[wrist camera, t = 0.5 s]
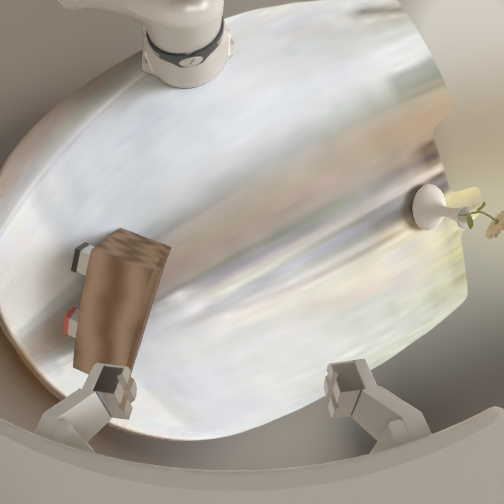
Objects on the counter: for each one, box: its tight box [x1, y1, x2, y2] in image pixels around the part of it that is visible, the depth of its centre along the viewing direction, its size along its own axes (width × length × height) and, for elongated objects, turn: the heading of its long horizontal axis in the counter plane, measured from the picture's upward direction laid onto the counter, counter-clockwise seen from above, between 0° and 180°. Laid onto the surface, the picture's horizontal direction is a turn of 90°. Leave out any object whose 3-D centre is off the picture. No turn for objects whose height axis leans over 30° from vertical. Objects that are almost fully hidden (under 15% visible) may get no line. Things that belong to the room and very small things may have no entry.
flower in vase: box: [412, 184, 504, 239], centre depth 49 cm, size 13×11×25 cm
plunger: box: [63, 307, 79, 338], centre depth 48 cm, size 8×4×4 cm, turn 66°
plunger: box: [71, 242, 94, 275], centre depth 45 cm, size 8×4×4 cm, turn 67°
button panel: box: [73, 228, 171, 376], centre depth 49 cm, size 11×24×16 cm, turn 157°
